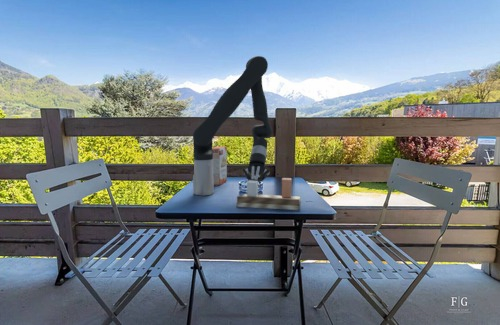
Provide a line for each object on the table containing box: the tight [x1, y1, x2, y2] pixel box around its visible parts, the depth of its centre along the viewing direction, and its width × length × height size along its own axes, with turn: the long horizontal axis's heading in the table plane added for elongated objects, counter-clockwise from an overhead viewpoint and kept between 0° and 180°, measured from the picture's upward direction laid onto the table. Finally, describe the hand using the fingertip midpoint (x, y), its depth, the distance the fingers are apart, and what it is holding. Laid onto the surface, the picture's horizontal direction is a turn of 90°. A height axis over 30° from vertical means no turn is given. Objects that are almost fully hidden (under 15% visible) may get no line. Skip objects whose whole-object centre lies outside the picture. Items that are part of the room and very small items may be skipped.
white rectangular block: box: [246, 180, 259, 197], centre depth 117 cm, size 4×4×8 cm
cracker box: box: [212, 146, 228, 186], centre depth 158 cm, size 14×6×21 cm, turn 168°
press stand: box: [236, 193, 301, 211], centre depth 119 cm, size 26×15×4 cm, turn 78°
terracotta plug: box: [281, 177, 293, 198], centre depth 122 cm, size 4×4×8 cm
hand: (253, 188), depth 120 cm, fingers closed
